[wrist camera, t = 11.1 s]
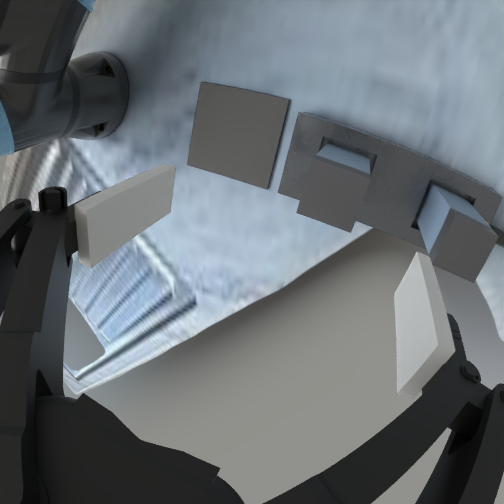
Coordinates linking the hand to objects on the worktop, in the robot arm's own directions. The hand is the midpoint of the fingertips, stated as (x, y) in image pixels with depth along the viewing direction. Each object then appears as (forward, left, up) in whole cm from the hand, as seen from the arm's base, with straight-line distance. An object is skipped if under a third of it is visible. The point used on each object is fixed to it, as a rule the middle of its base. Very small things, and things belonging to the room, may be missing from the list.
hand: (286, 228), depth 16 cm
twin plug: (+15, -1, -23) cm, 28 cm away
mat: (-13, -1, -24) cm, 28 cm away
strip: (+11, -1, -24) cm, 27 cm away
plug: (+1, -1, -23) cm, 23 cm away
